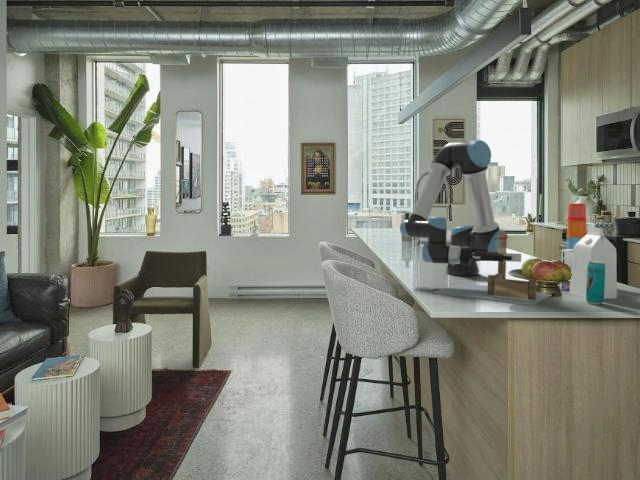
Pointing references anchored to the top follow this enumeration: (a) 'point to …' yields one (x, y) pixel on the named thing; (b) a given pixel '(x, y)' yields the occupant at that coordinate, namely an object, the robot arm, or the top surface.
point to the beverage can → (595, 282)
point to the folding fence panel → (502, 250)
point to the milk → (593, 250)
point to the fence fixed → (512, 288)
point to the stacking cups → (576, 224)
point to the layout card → (481, 293)
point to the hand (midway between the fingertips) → (520, 257)
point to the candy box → (567, 259)
